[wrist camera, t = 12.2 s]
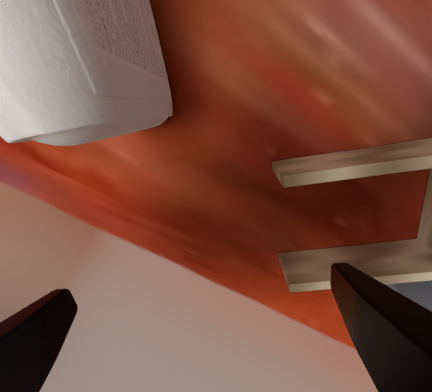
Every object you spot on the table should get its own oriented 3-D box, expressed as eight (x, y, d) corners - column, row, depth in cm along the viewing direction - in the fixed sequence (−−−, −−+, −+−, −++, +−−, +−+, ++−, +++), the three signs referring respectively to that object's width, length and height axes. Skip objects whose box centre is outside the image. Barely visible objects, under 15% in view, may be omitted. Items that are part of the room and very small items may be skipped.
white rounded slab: (75, -36, 14) (-614, -675, 3) (140, -56, 14) (-351, -955, 2) (128, 132, 18) (-55, 180, 6) (181, 121, 17) (87, 152, 6)
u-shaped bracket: (447, 135, 17) (510, 144, 13) (425, 245, 20) (469, 277, 16) (271, 161, 18) (283, 175, 14) (278, 260, 21) (289, 292, 18)
